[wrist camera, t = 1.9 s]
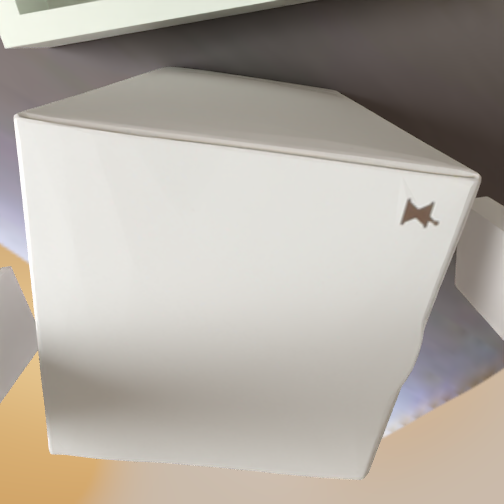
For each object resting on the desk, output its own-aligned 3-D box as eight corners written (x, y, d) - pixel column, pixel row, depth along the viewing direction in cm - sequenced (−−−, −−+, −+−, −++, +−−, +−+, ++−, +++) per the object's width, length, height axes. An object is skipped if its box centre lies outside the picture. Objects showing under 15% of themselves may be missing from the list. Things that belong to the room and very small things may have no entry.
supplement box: (159, 60, 20) (-8, 91, 7) (340, 88, 21) (506, 165, 8) (151, 232, 24) (35, 463, 11) (305, 251, 25) (373, 491, 12)
